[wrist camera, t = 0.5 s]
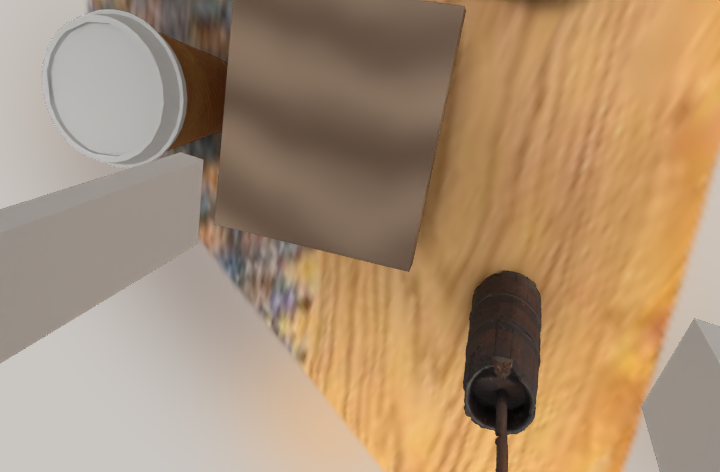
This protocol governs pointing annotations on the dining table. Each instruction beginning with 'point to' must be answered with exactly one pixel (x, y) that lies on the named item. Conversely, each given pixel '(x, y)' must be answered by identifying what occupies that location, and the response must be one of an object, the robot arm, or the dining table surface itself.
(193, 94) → the disposable coffee cup
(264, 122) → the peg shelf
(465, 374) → the butter churn
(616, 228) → the dining table surface
